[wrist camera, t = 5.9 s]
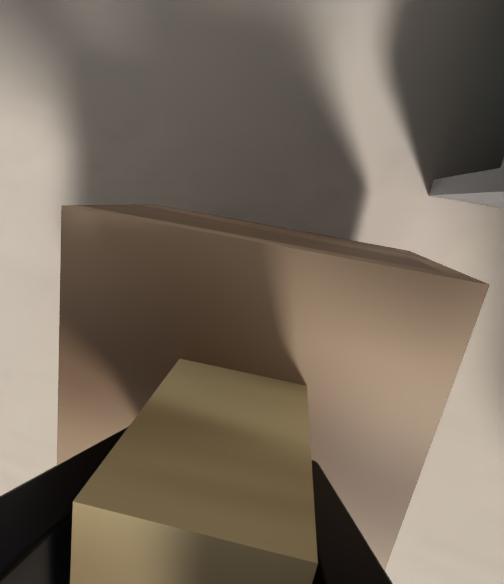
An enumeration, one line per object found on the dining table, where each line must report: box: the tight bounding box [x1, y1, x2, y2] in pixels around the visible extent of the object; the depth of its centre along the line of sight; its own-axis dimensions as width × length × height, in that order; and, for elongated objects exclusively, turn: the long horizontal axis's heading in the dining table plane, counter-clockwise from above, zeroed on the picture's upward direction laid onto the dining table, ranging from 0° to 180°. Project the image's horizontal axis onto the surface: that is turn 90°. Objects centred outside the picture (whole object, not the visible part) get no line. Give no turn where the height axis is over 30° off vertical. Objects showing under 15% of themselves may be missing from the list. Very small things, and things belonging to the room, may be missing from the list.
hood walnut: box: [57, 205, 489, 584], centre depth 9 cm, size 9×9×9 cm
